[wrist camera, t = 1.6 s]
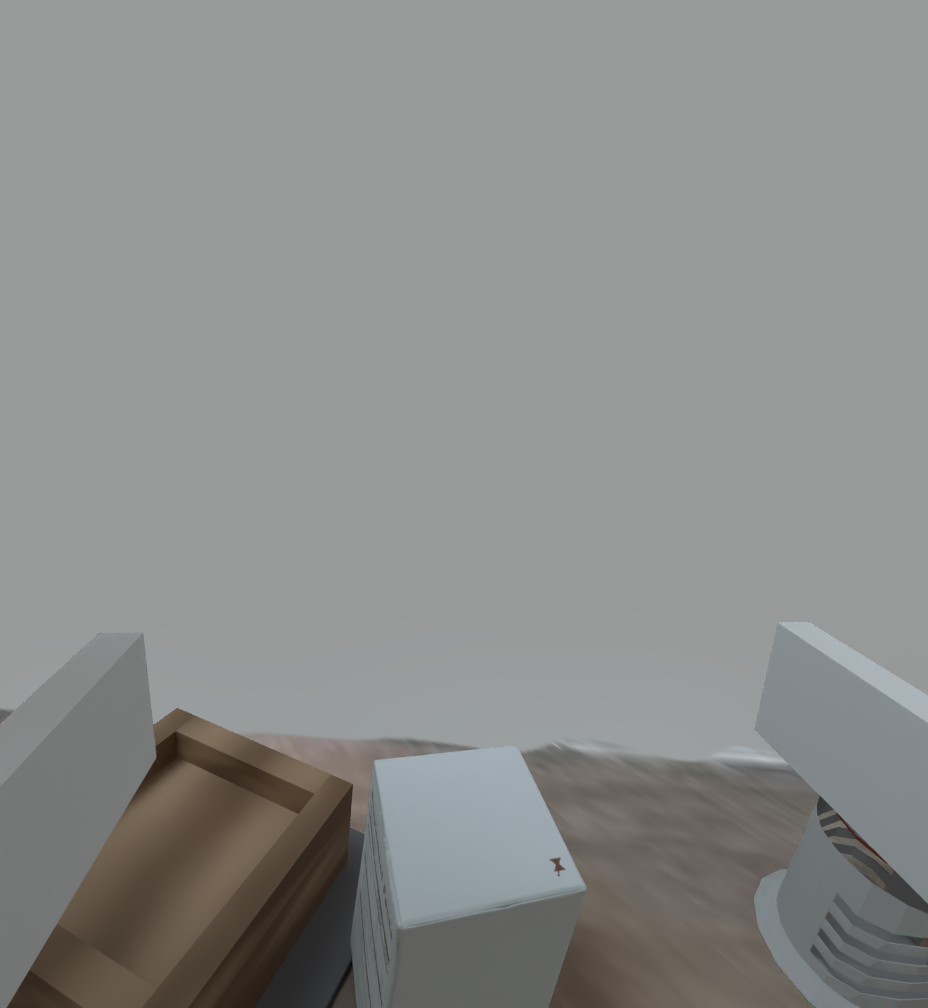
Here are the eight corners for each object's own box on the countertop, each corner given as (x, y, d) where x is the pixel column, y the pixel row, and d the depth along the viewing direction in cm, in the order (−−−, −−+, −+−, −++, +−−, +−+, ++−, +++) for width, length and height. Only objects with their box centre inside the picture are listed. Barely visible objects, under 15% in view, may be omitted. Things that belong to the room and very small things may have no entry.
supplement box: (478, 914, 30) (521, 740, 26) (527, 1088, 24) (595, 892, 20) (346, 940, 28) (371, 753, 24) (360, 1140, 21) (398, 930, 17)
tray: (-55, 986, 24) (-81, 893, 22) (181, 780, 36) (177, 708, 34) (161, 1152, 20) (152, 1055, 19) (347, 861, 32) (352, 784, 30)
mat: (-152, 1008, 24) (-154, 1002, 23) (172, 749, 39) (172, 745, 39) (179, 1292, 18) (178, 1286, 18) (406, 858, 33) (406, 854, 33)
